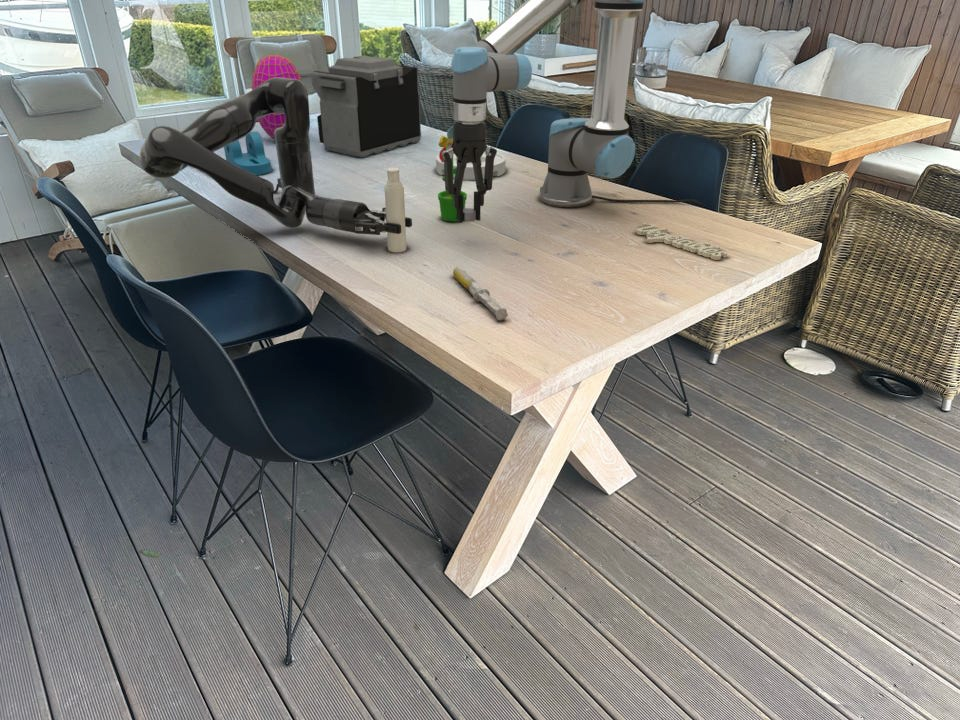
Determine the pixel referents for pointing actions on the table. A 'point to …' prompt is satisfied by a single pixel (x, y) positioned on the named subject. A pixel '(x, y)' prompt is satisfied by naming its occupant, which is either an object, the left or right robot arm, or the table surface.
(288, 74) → the decorative egg
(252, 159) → the camera mount
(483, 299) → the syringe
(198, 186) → the table surface
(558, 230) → the table surface
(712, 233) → the table surface
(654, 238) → the decorative sign
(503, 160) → the ashtray
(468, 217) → the cap
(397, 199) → the bottle
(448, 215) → the potted flower
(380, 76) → the electronic device
